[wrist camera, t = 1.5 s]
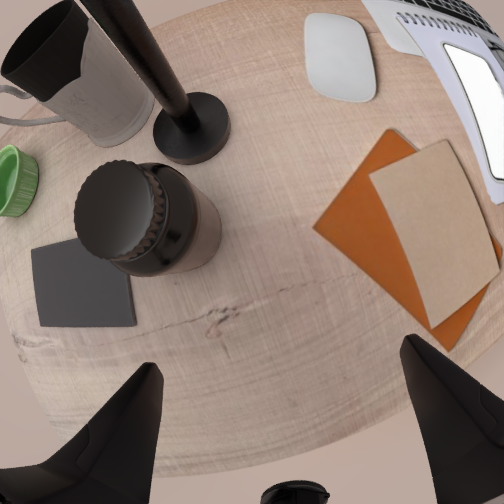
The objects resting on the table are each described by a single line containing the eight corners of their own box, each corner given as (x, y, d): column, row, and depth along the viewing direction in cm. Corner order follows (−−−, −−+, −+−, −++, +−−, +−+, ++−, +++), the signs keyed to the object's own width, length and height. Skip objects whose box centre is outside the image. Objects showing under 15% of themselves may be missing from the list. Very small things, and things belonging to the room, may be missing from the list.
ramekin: (18, 151, 26) (-2, 143, 21) (50, 157, 25) (27, 146, 21) (0, 212, 26) (-22, 209, 21) (29, 228, 25) (4, 225, 21)
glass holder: (159, 126, 24) (72, 31, 9) (54, 179, 25) (-45, 144, 10) (150, 68, 24) (88, -21, 9) (55, 120, 25) (-23, 72, 10)
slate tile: (137, 325, 23) (134, 326, 23) (43, 325, 24) (40, 326, 24) (124, 228, 24) (121, 228, 23) (34, 249, 25) (30, 249, 24)
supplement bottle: (154, 275, 23) (62, 287, 11) (146, 200, 24) (59, 160, 12) (229, 265, 23) (183, 273, 11) (219, 186, 23) (170, 121, 11)
